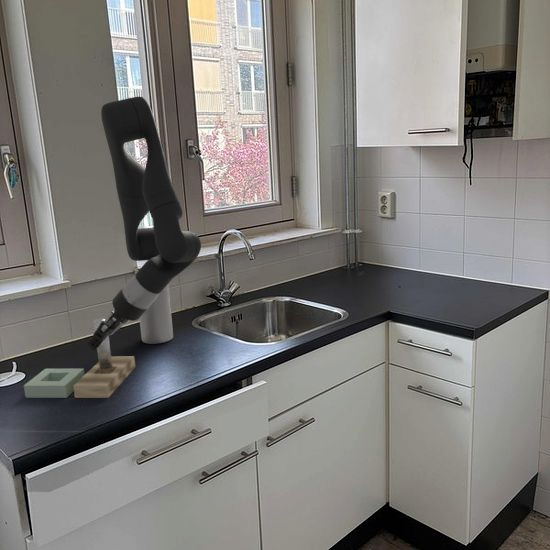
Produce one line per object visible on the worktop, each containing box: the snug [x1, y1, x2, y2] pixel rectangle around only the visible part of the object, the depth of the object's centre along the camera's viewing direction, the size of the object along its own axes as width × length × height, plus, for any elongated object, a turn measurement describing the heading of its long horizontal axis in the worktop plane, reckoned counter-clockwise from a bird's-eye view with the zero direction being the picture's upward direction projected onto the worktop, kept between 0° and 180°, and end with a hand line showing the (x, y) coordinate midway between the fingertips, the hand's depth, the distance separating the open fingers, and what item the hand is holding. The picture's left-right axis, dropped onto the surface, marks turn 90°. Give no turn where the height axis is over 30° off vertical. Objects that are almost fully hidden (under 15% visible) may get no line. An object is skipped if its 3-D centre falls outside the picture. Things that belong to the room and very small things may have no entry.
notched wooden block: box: [73, 355, 136, 399], centre depth 136 cm, size 18×8×3 cm, turn 174°
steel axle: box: [93, 317, 112, 369], centre depth 135 cm, size 3×3×12 cm
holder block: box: [23, 368, 86, 399], centre depth 134 cm, size 10×10×3 cm
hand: (95, 344), depth 135 cm, fingers closed on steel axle, 3 cm apart
